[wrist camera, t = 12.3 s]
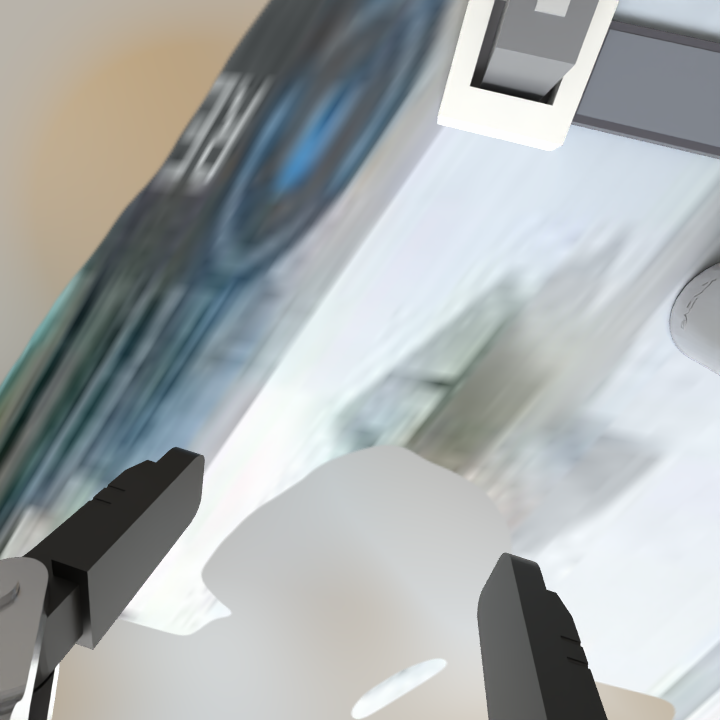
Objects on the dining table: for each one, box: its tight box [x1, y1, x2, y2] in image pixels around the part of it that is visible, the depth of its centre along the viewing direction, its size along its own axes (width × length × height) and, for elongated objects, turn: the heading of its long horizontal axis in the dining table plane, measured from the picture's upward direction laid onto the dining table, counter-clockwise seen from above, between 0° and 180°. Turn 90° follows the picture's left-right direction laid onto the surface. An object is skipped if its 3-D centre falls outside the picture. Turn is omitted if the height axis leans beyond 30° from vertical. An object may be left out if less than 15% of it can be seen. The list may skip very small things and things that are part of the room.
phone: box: [571, 20, 720, 159], centre depth 27 cm, size 12×6×1 cm, turn 77°
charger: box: [480, 0, 599, 102], centre depth 24 cm, size 4×4×8 cm
